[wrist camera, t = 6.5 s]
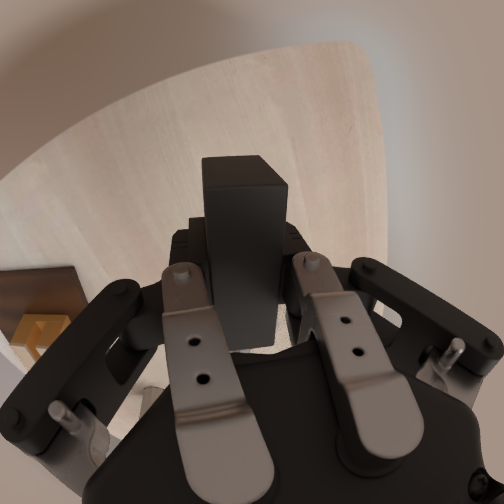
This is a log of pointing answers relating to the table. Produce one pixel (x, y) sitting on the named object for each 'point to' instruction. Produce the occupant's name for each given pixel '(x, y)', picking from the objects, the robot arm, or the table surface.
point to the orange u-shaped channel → (36, 336)
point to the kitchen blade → (244, 246)
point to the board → (39, 295)
